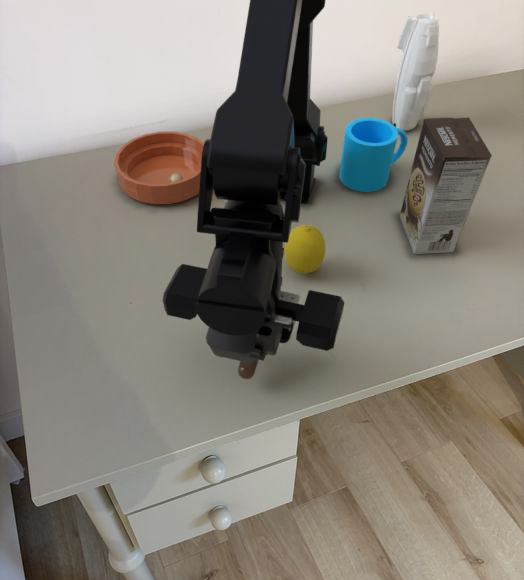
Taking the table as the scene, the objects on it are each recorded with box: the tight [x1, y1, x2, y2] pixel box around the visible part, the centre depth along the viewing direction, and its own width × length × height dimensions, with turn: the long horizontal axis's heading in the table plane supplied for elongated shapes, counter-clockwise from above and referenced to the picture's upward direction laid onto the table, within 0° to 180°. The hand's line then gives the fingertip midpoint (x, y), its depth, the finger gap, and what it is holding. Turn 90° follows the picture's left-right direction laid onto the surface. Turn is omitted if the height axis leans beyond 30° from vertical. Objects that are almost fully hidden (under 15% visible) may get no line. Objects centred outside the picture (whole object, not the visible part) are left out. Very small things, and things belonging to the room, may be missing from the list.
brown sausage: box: [237, 359, 259, 380], centre depth 62 cm, size 8×2×2 cm
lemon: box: [284, 224, 326, 275], centre depth 72 cm, size 6×6×8 cm
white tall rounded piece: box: [391, 11, 440, 132], centre depth 92 cm, size 7×18×7 cm
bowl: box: [113, 130, 205, 205], centre depth 87 cm, size 15×15×4 cm
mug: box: [338, 117, 408, 193], centre depth 86 cm, size 12×8×8 cm
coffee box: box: [399, 117, 493, 255], centre depth 74 cm, size 9×6×16 cm
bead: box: [169, 173, 183, 183], centre depth 85 cm, size 2×2×2 cm
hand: (254, 352), depth 63 cm, fingers closed on brown sausage, 2 cm apart
